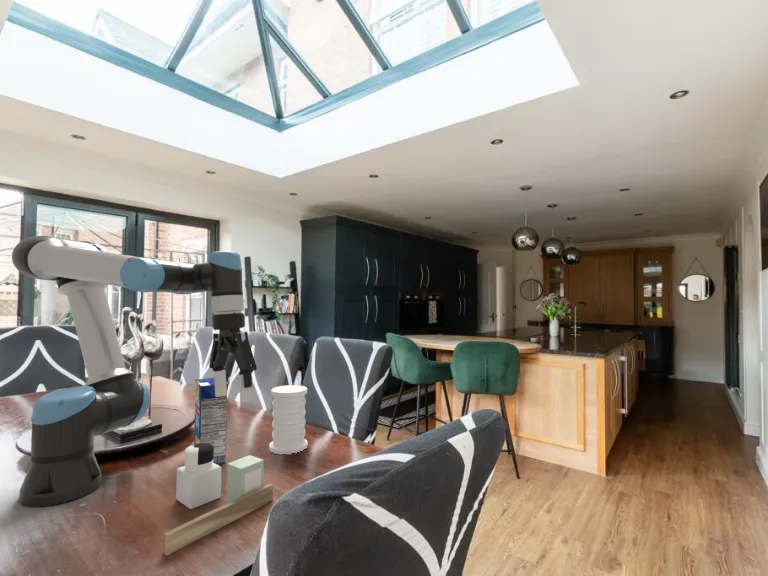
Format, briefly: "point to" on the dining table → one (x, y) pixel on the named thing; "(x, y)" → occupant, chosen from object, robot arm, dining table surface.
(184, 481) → the medicine bottle
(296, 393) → the decorative container
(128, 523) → the dining table surface
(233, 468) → the sage carton
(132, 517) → the dining table surface
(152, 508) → the dining table surface
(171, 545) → the rail
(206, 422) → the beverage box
